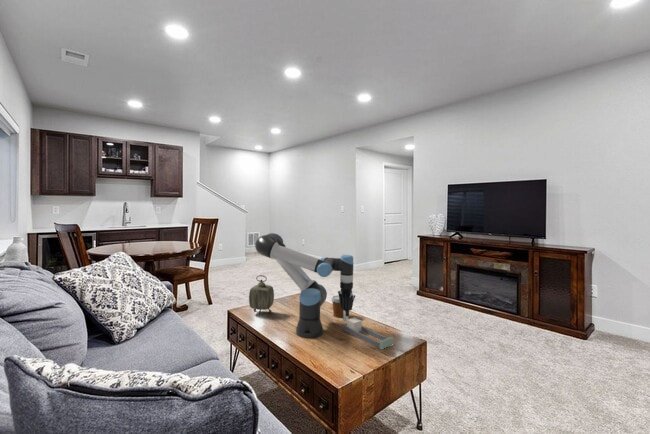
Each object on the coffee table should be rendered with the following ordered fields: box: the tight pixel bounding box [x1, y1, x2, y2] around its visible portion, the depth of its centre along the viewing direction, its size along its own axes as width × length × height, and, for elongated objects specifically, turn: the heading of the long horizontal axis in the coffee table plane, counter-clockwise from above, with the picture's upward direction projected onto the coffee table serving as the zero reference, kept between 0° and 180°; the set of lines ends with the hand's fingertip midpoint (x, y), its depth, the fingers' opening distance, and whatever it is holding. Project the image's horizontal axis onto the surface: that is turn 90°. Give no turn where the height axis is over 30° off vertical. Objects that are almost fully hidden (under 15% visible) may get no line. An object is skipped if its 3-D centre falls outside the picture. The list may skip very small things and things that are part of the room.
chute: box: [341, 324, 394, 350], centre depth 172 cm, size 9×30×4 cm, turn 38°
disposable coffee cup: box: [331, 294, 343, 318], centre depth 202 cm, size 10×10×12 cm
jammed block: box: [346, 317, 363, 333], centre depth 180 cm, size 6×6×6 cm
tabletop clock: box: [248, 275, 275, 315], centre depth 203 cm, size 14×9×25 cm, turn 82°
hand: (345, 320), depth 185 cm, fingers closed
